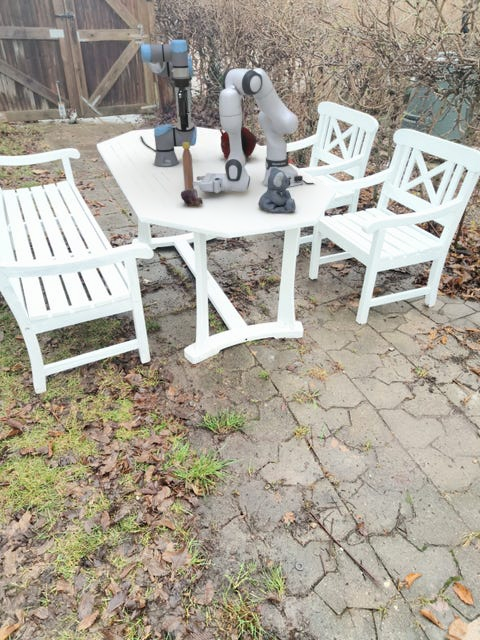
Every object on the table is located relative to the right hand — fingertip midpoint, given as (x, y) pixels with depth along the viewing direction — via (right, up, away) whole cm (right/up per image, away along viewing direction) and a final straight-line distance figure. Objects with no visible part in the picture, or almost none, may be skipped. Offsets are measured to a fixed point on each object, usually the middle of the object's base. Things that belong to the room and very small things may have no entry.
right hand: (194, 181), depth 243 cm
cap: (-4, +16, -10) cm, 20 cm away
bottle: (-3, -5, +4) cm, 7 cm away
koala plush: (+43, -19, -17) cm, 49 cm away
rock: (-1, -16, -12) cm, 20 cm away
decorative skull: (+23, +33, +60) cm, 72 cm away
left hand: (-4, +22, -15) cm, 27 cm away
